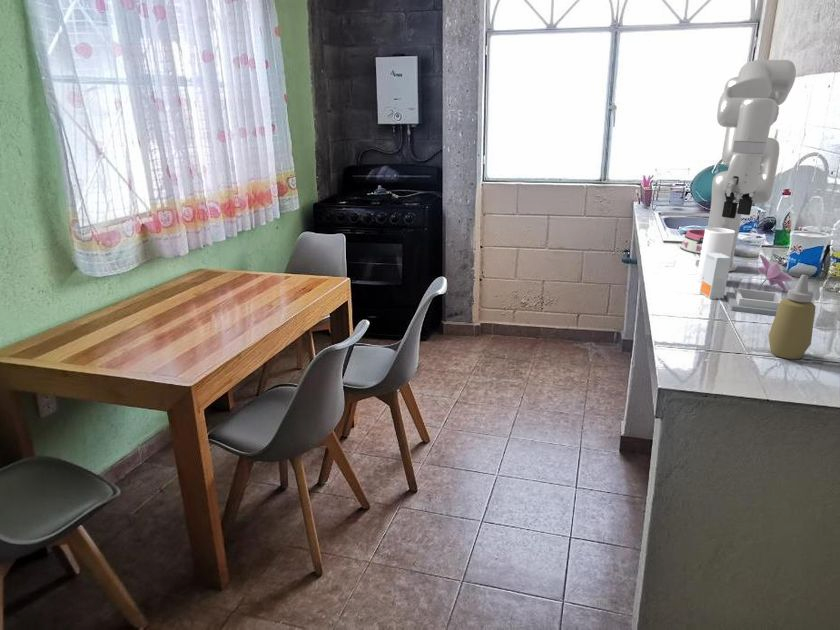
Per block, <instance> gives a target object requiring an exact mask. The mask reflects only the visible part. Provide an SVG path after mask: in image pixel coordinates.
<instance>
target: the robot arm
mask: <svg viewBox="0 0 840 630" xmlns="http://www.w3.org/2000/svg"><path fill="white" fill-rule="evenodd" d="M796 74H797V70H796V66H795V64H794V62H793V61H791V60H788V59H756V60H755V59H754V60H751V61H747V62H745V63H744V64H743V66H741V68H740V70H739V72H738V76H735V77H731V78H730V79H728V80H727V81H726V82H725V85H724V89H723V92H722V94H721V96H720V98H719V100H718V105H717V113H716V114H717V115H716V119H717V123H718V125H720V127H724V128H725V129H726V130H725V135H724V140H723V141H724V142H723V147H722V154H721V159H722V160H721V161H722V163H723V165H725V166H727V167H728V169H727V170H724V171H721V172H718V173H717V174H715V175H714V176H713V178H712V183H711V200H710V209H709V217H708V222H707V227H706V228H725V229H730V230H734V231H735V236H734V241H733V246H732V251H731V256H730V258H731V263H730V268H729V272H734V271H736V270H737V268H738V265H737V264H735V263H733V262H734V258H735V253H736V252H735V251H736V248H737V242H738V237H739V232H740V227H741V223H742V215H745V216H750V215H751V211H752V205H753V204H765V203H767V202H769V201H770V199H771V197H772V194H773V191H774V187H775V179H776V175H777V168H778V163H779V157H780V156H779V155H780V144H779V143H780V142H779V141H778V140H777V139H776V138H774V137H769V134H770V130H771V127H772V125H774V123H776V122H777V120H778V116H779V112H780V105H782V104H784V103H785V102H786V100H787V98H788V96H789V94H790V92H791V90H792V88H793V86H794V84H795V80H796ZM699 261H700V259H697V260H696V261H695V266H697V267H698V266H699Z"/></svg>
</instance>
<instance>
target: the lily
mask: <svg viewBox="0 0 840 630" xmlns="http://www.w3.org/2000/svg"><path fill="white" fill-rule="evenodd" d="M759 258H760V260H761V262H762V264H763V267H756V268H755V269H756V271H759V272H760V273H762V274H763V275H765V279H764V281H763V282H762V283H761V284H760V286H759V288H758V290H757V291H760V289H761V288H762V286H763V284H765V282H766V281H768V283H769V286H771V285H772V286H775V285H778V286H779V287H780V288H781V289H782V290H784V292H787V288H786V284H784V282H785V283H786V282H794V281H795V279H794V278H793V277H792V276H791V275H789V274H788V273H786V272H784V271H781V270H780V266H779V263H778V262H774V263H771V261H769V260H768V259H767V258H766V257H765V256H764V255H762V254H759Z"/></svg>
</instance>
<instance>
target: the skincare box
mask: <svg viewBox="0 0 840 630" xmlns="http://www.w3.org/2000/svg"><path fill="white" fill-rule="evenodd" d="M730 263H731V258H730V257H728V256H726V255H723V254H721V253H707V255H706V260H705V265H704V271H703V276H702V281H701V282H700V287H699V293H700V294H702V295H703V296H705V297H706V298H707V299H709V298H710V299H709V300H717V299H716V298H722V299H721V300H723V299H724V298H725V297H724V296H725V292H726V287H727V283H728V278H729V272H730V271H729V268H730Z"/></svg>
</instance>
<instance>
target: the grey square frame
mask: <svg viewBox="0 0 840 630" xmlns="http://www.w3.org/2000/svg"><path fill="white" fill-rule="evenodd" d="M725 297H726V299H727V303H728V302H729V303H728V305H730V306H729V308H731V309H730V311H732V310H735V311H734V312H740V311H742V313H748V312H749V314H757V315H767V316H774V317H775V315H776V312H777V310H778V307H779V304H780V301H781V300H783V299H784V298H783V297H781V296H780V295H779V293H778V292H775V291H774V292H773V291H763V290H757V289H756V290H754V289H746V288H738V287H737V288H735V289H734V292H731V291H730V292H729V291H726V294H725Z"/></svg>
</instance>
